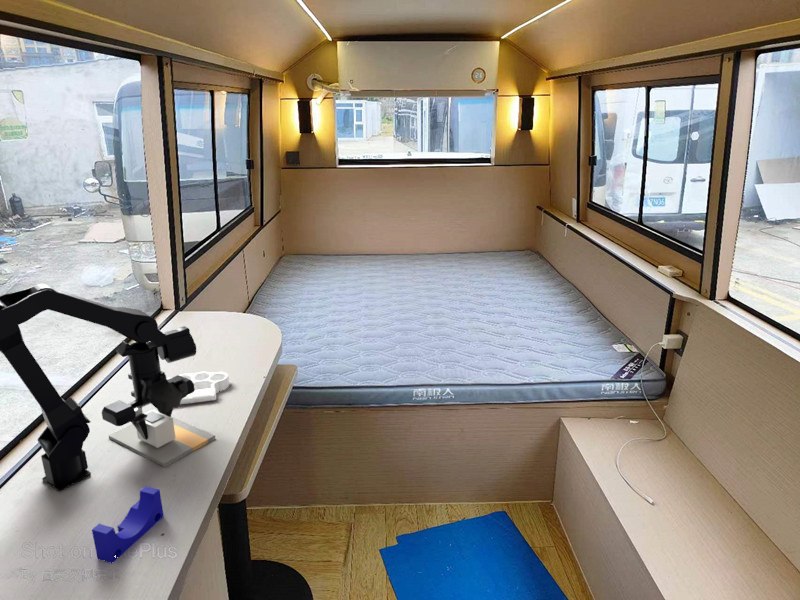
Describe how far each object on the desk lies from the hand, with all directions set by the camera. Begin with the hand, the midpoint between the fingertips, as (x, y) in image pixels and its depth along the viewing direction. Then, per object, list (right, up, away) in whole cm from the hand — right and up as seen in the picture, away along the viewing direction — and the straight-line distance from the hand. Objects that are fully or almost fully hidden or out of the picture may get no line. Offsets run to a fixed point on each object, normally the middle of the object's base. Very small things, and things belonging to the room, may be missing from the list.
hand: (155, 434), depth 126 cm
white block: (0, -1, 0) cm, 1 cm away
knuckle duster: (0, +5, +24) cm, 25 cm away
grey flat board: (0, -2, +3) cm, 3 cm away
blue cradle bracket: (+7, -12, -27) cm, 30 cm away
